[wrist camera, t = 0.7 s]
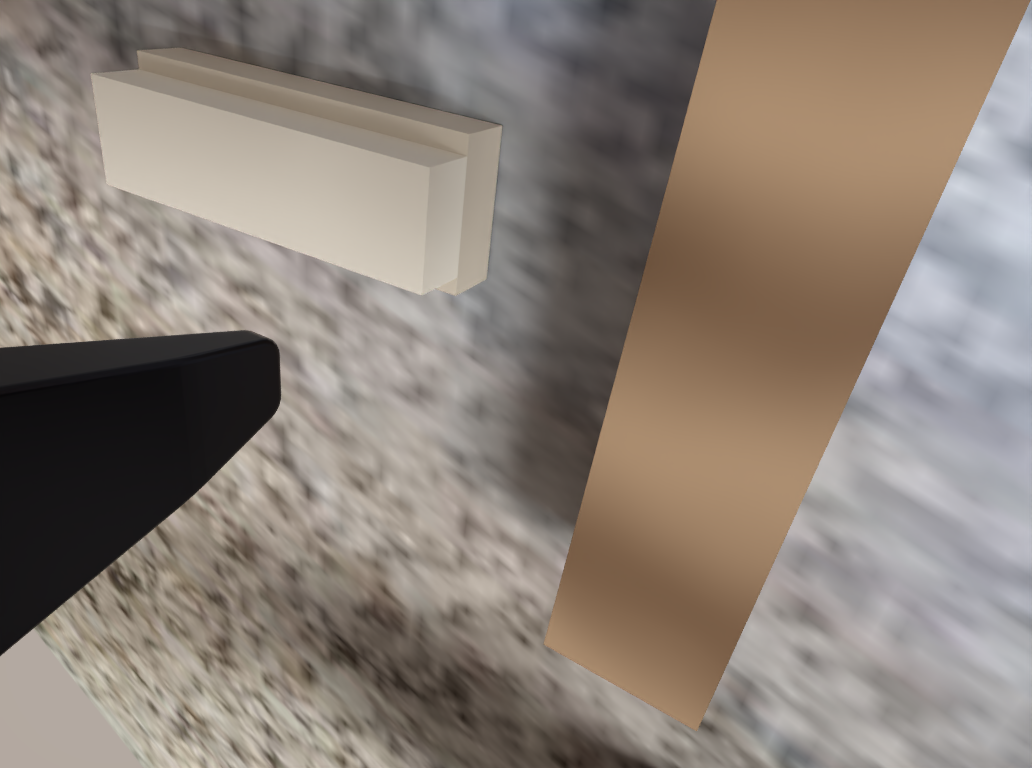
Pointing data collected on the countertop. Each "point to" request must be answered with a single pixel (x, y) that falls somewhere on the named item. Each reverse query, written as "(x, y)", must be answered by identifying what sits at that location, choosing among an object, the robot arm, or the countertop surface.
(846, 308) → the walnut bar
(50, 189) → the countertop surface
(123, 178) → the stepped block
